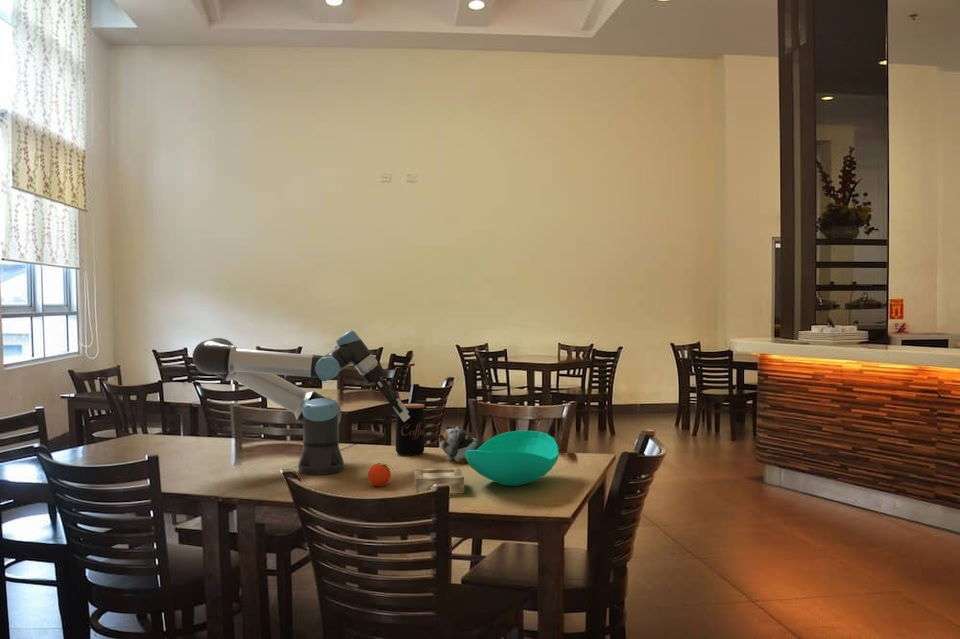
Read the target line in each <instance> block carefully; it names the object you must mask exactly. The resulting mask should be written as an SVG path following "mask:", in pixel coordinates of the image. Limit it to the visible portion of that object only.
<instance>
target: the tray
mask: <svg viewBox="0 0 960 639" xmlns="http://www.w3.org/2000/svg"><path fill="white" fill-rule="evenodd" d="M434 484H449V485H450V486H451V493H464V494H465V476H464V474H463V472H462V470H461V468H460V467H445V468H443V467H442V468H441V467H438V468H414V469H413V485H414V493H415V494H416V493H419V492H425V491H429V490H431V487H432V486H433V485H434Z"/></svg>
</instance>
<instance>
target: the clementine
mask: <svg viewBox="0 0 960 639" xmlns="http://www.w3.org/2000/svg"><path fill="white" fill-rule="evenodd" d="M390 469H393V467H392V466H391V465H389V464H387V463H380V462H378V463H375V464H373V465H372V466H371V467H370V468H369V469H368V471H367V472H368V473H367V479H368V481H369V482H370V484H372V486H375V487H384V486H385V485H386V484H388V483H389V482H390V479H391V475H392V474H391V470H390Z"/></svg>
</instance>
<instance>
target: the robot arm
mask: <svg viewBox="0 0 960 639" xmlns="http://www.w3.org/2000/svg"><path fill="white" fill-rule="evenodd" d="M335 342H336V344H337V346H336V347H335V348H334V349H333V350H331V351H330V352H328V353H327V354H325V355H319V354H317V355H315V354H305V353H293V352H292V353H291V352H281V351H280V352H279V351H270V350H259V349H258V350H256V349H245V348H238V347H237V346H235V344H234V343H232V342H231V341H230V340H228V339H226V338H222V337H220V338H219V337H216V338H210V339H206V340H203V341H201V342H200V343H198V344H197V345H196V347H195V348H194V349H193V351H192V356H191V357H192V363H193V365H194V366H195V368H196V369H197V370H198V371H199V372H201V373H203V374H205V375H206V374H207V375H215V376H217V377H219V378H221V379H222V380H223V381H227V382H228V381H236V382H237V383H239V384H240V385H243V387H246V388H248V389H249V390H251V391H254V392H255V393H257V394H259V395H260V396H262V397H264V398H266V399H267V400H269V401H271V402H273V403H274V404H276V405H279V406H280V407H282V408H283V409H285V410H287V411H289V412H291V413H293V414H294V415H295V416H294V417H295V419H296V421H297V422H300V423H301V424H302V433H303V434H302V436H303V437H302V439H303V441H302V442H303V443H302V444H303V445H302V446H303V447H302V452H301V455H300V457H299V458H300V459H299V461H298V466H297V468H298V470H297V471H298V472H299V473H300V474H302V475H330V474H331V475H332V474H336V473H340V472H343V471H344V470H345V461H344V458H343V455H342V453H341V450H340V446H339V444H340V443H339V442H340V441H339V432H340V430H339V425H340V423H341V421H342V416H343V415H342V409H341V406H340V404H339V403H338V401H336V400H335V399H333V398H330V397H325V396H323V395H322V394H320V393H318V392H316V391H315V390H312V391H306V390H304V389H303V388H300V387H299V386H296V385H295V384H293V383H292V382H290V381H288V380H286V379H284V378H283V377H282V376H291V377H292V376H293V377H305V378H316V379H320V381H322V382H324V383H325V382H327V381H329V380H332V379H334V378H336V377H337V376H338V374H339V373H340V372H341V371H343V370H344V369H345V368H346V367H347V366H349V365H350V364H352V365H353V366H354V369H356V370H357V372H358V374H360V375H361V376H362V378H363V379H364V381H365V382H366V384H368V385H371V384H372V383H373V382H375V387H376V389H377V390H379V392H380V394H382V395H383V396H384V398H385V399H386V400H387V402H388V403H389V407H390V409H392V408H393V410H394V411H395V413H396V412H397V414H398V415H399V416H400V418H401V419H402V420H403V422H405V421H406V420H407V419H409V418H410V416H409V415H408V414H407V413H409V411H408V410H407V409H406V407H405V406H404V405H403V404H404V403H403V402H402V401H401V400H400V398H399V397H400V395H399V394H396V393H395V392H394V391H393V389H392V388H391V385H389V383H388V380H386V378H383V375H384V374H385V372H386V370H385V369H384V368H383V366H382V365H381V364H380V363H379V362H378V360H377V358H376V357H377V356H376V354H373V353H372V352H371V351H370V350H369V348H368V346H367V345H366V344H365V342H364V341H363V340H362V339H361V338H360V336H359V335H358V334H357V332H355V331H354V330H352V329H351V330H349V331H347V332H345V333H344V334H343V335H341V336H340V337H339V338H338V339H336V341H335Z"/></svg>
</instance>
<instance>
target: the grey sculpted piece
mask: <svg viewBox="0 0 960 639" xmlns="http://www.w3.org/2000/svg"><path fill="white" fill-rule="evenodd" d="M438 442H439V445H440V448H441V449H442V450H443V452H444V453H445V454H446V456H448V457H449V459H450V460H454V461H455V462H457V463H459V464H460V465H465V464H467V465H469V463H468V462H467V460H466V457H465V452H466V451H467V450H477V449H478V448H479V447H480V446H481V445H483V443H481V441H480V440H479V439H477V438H475V437H471V436H469V435H468V434H466V432H465V431H464V430H463V429H461V427H460V426H456V427H454V428H452V427H451V426H446V427H445V431H444V434H438Z"/></svg>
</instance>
